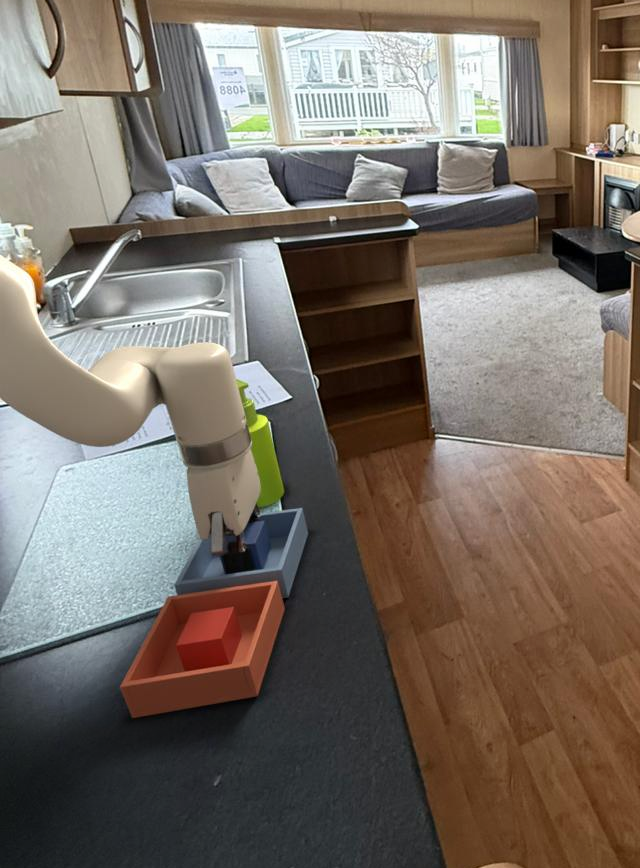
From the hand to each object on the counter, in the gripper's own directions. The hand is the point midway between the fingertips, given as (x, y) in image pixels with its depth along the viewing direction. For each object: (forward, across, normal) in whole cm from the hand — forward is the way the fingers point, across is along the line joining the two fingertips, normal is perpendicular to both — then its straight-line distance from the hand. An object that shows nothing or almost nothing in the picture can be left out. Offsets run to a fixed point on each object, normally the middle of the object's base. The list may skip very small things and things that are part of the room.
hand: (247, 557), depth 86 cm
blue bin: (+2, 0, 0) cm, 2 cm away
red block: (+2, +14, 0) cm, 14 cm away
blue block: (+1, 0, 0) cm, 1 cm away
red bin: (+2, +14, 0) cm, 14 cm away
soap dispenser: (+2, -17, -3) cm, 17 cm away
